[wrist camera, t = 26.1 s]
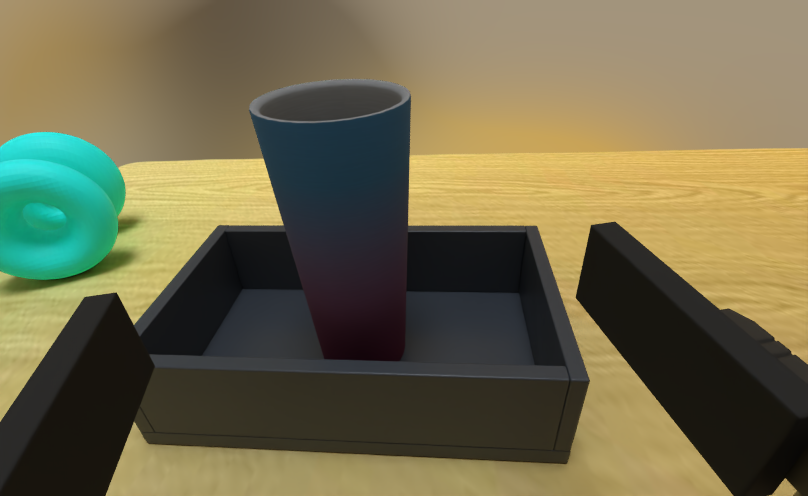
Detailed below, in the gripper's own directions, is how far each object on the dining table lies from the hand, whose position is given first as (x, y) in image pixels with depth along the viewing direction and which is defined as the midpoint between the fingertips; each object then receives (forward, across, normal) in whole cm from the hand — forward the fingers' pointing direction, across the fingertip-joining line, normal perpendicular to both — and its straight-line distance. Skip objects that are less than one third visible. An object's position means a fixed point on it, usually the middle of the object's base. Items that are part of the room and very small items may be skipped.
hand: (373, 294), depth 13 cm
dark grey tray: (+10, 0, -13) cm, 16 cm away
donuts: (+28, -25, -13) cm, 39 cm away
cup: (+10, 0, -12) cm, 15 cm away
